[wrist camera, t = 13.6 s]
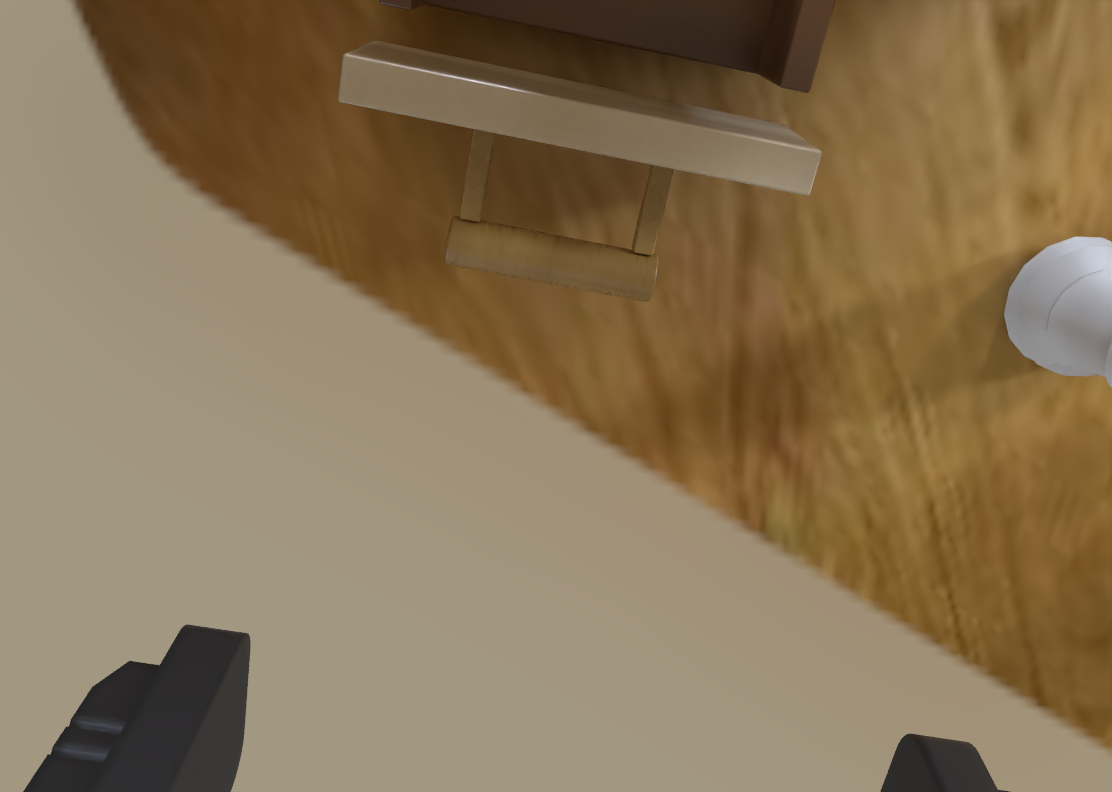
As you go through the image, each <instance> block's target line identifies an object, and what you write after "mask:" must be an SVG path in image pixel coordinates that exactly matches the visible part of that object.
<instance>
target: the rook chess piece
mask: <svg viewBox="0 0 1112 792" xmlns="http://www.w3.org/2000/svg"><path fill="white" fill-rule="evenodd" d="M1004 317H1005V321H1006V326H1007V330H1008V334H1009V338H1010V340H1011V341H1012V342H1013V343H1014V345H1015V346H1016V347H1017V348H1018V349H1019V351H1020V352H1021V353H1022V354H1023V355H1024V357H1027V358H1029V359H1031V360H1033V361H1035V362H1036V364H1038V365H1040V366H1042V367H1044V368H1046V369H1049V370H1051V371H1053V372H1055V373H1057V374H1060V375H1065V376H1093V375H1101V376H1104V377H1106V378H1107V382H1108V384H1109V386H1110V387H1111V388H1112V242H1111V241H1109V240H1107V239H1105V238H1101V237H1073V238H1071V239H1068V240H1065V241H1062V242H1059V243H1056V244H1053V245H1050V246H1048V247H1046V248H1045V249H1044V250H1043V251H1041V252H1040V253H1039V254H1038V255H1036V256H1035V257H1034V258H1033V259H1031V260H1030V261H1029V262H1027V263H1026V264H1025V265H1024V266H1023V268H1022V270H1021V271H1020V273H1019V274H1018V276H1017V277H1016V279H1015V281H1014V282H1013V284H1012V285H1011V287H1010V288H1009V292H1008V297H1007V302H1006V307H1005V312H1004Z"/></svg>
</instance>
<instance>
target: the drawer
mask: <svg viewBox="0 0 1112 792" xmlns="http://www.w3.org/2000/svg"><path fill="white" fill-rule="evenodd" d="M380 3H381V4H382V5H387V6H392V7H397V8H402V9H406V10H410V9H413V8H416V7H420V6H423V5H430V6H435V7H440V8H444V9H449V10H454V11H459V12H464V13H468V14H473V15H478V16H483V17H488V18H492V19H497V20H502V21H507V22H512V23H516V24H521V25H526V26H531V27H535V28H540V29H545V30H550V31H555V32H559V33H564V34H569V35H574V36H579V37H583V38H588V39H593V40H598V41H603V42H607V43H612V44H617V45H622V46H626V47H631V48H636V49H641V50H646V51H650V52H655V53H660V54H665V55H670V56H674V57H679V58H684V59H689V60H694V61H698V62H703V63H708V64H713V65H718V66H722V67H727V68H732V69H737V70H741V71H746V72H751V73H756V74H758V75H760V76H762V77H764V78H765V79H767V80H769V81H771V82H772V83H774V84H776V85H778V86H780V87H781V88H786V89H791V90H795V91H800V92H805V93H808V92H809V91H810V89H811V85H812V82H813V78H814V74H815V71H816V67H817V64H818V60H819V57H820V53H821V50H822V46H823V42H824V39H825V35H826V32H827V28H828V25H829V21H830V17H831V14H832V10H833V7H834V3H835V0H380ZM338 100H339V101H340V102H342V103H347V104H352V105H357V106H362V107H366V108H371V109H376V110H381V111H386V112H391V113H396V114H401V115H406V116H411V117H416V118H421V119H426V120H431V121H436V122H441V123H446V124H451V125H456V126H461V127H466V128H471V129H473V135H472V141H471V147H470V154H469V160H468V166H467V172H466V178H465V184H464V190H463V196H462V202H461V209H460V215H459V216H453V218H452V220H451V224H450V229H449V234H448V239H447V245H446V252H445V263H446V264H448V265H454V266H459V267H464V268H469V269H475V270H480V271H485V272H490V273H496V274H501V275H506V276H511V277H517V278H522V279H527V280H532V281H538V282H543V283H548V284H553V285H558V286H564V287H569V288H574V289H579V290H585V291H590V292H595V293H600V294H606V295H611V296H616V297H621V298H627V299H632V300H637V301H642V302H649V300H650V299H651V297H652V294H653V291H654V288H655V284H656V279H657V274H658V265H659V259H658V256H657V255H656V254H654V250H655V245H656V241H657V237H658V233H659V229H660V224H661V220H662V216H663V212H664V208H665V203H666V199H667V195H668V191H669V187H670V183H671V178H672V174H673V170H674V169H675V170H680V171H685V172H690V173H695V174H700V175H705V176H710V177H715V178H720V179H725V180H730V181H735V182H740V183H745V184H750V185H755V186H760V187H765V188H770V189H775V190H780V191H785V192H790V193H795V194H800V195H805V196H808V195H809V194H810V192H811V189H812V186H813V182H814V179H815V175H816V172H817V168H818V165H819V162H820V158H821V155H822V152H821V151H820V150H819V149H817V148H816V147H814V146H813V145H812V144H810V143H809V142H807V141H806V140H805V139H803V138H802V137H801V136H799V135H798V134H796V133H795V132H794V131H792V130H791V129H790V128H788V127H787V126H785V125H784V124H780V123H775V122H770V121H765V120H760V119H756V118H751V117H746V116H741V115H736V114H731V113H726V112H721V111H717V110H712V109H707V108H702V107H697V106H692V105H687V104H683V103H678V102H673V101H668V100H663V99H658V98H653V97H648V96H644V95H639V94H634V93H629V92H624V91H619V90H614V89H610V88H605V87H600V86H595V85H590V84H585V83H580V82H575V81H571V80H566V79H561V78H556V77H551V76H546V75H541V74H537V73H532V72H527V71H522V70H517V69H512V68H507V67H503V66H498V65H493V64H488V63H483V62H478V61H473V60H468V59H464V58H459V57H454V56H449V55H444V54H439V53H434V52H430V51H425V50H420V49H415V48H410V47H405V46H400V45H395V44H391V43H386V42H381V41H373V42H371V43H369V44H366V45H364V46H362V47H359V48H357V49H355V50H353V51H350V52H348V53H346V54H344V55H343V60H342V68H341V77H340V86H339V95H338ZM496 134H501V135H506V136H511V137H516V138H521V139H526V140H531V141H536V142H541V143H546V144H551V145H556V146H561V147H566V148H571V149H576V150H581V151H586V152H591V153H596V154H601V155H606V156H611V157H616V158H621V159H626V160H631V161H636V162H641V163H645V164H650V169H649V174H648V178H647V182H646V187H645V191H644V195H643V200H642V204H641V208H640V213H639V217H638V221H637V226H636V230H635V234H634V239H633V243H632V249H633V250H630V249H625V248H620V247H615V246H610V245H604V244H599V243H594V242H589V241H584V240H579V239H574V238H568V237H563V236H558V235H553V234H548V233H543V232H538V231H532V230H527V229H522V228H517V227H512V226H507V225H502V224H496V223H491V222H486V221H481V216H482V210H483V204H484V199H485V193H486V187H487V181H488V175H489V169H490V164H491V158H492V152H493V146H494V140H495V135H496Z"/></svg>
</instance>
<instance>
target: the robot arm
mask: <svg viewBox="0 0 1112 792" xmlns="http://www.w3.org/2000/svg"><path fill="white" fill-rule="evenodd" d="M249 660H250V637H249V634H247V633H241V632H234V631H228V630H221V629H214V628H208V627H200V626H194V625H185V626H184V627H183V628H182V629H181V630H180V632H179V633H178V635H177V637H176V638H175V640H174V642H173V644H172V645H171V647H170V649H169V650H168V652H167V654H166V656H165V657H164V659H163V661H162V663H161V664H160V665H154V664H147V663H140V662H133V661H129V662H127V663H126V664H124V665H123V666H122V667H120V668H119V669H117V670H116V671H115V672H113V673H112V674H110V675H109V676H107V677H106V678H105V679H103V680H102V681H100V682H99V683H98V684H96V685H95V686H93V687H92V689H91V690H90V691H89V693H88V694H87V696H86V698H85V699H84V701H83V702H82V704H81V705H80V707H79V708H78V710H77V711H76V713H75V714H74V716H73V717H72V719H71V722H70V725H69V727H66V728H65V729H64V731H63V732H62V734H61V735H60V737H59V738H58V740H57V741H56V743H55V744H54V746H53V749H52V752H51V755H47V757H46V758H45V760H44V761H43V763H42V764H41V766H40V767H39V769H38V770H37V772H36V773H35V775H34V776H33V778H32V779H31V781H30V782H29V784H28V785H27V787H26V788H25V790H24V791H23V792H230V791H231V789H232V786H233V783H234V780H235V777H236V773H237V770H238V766H239V761H240V757H241V752H242V746H243V739H244V728H245V714H246V701H247V687H248V673H249ZM881 792H1008V791H1001V790H998V789H997V788H996V786H995V784H994V782H993V780H992V778H991V776H990V774H989V772H988V770H987V768H986V766H985V764H984V762H983V761H982V759H981V757H980V755H979V753H978V751H977V750H976V748H975V747H974V746H973V745H972V744H970V743H968V742H963V741H956V740H949V739H942V738H936V737H929V736H922V735H916V734H907V735H905V736H904V737H903V738H902V739H901V741H900V742H899V744H898V746H897V749H896V751H895V754H894V757H893V759H892V762H891V765H890V768H889V770H888V774H887V776H886V778H885V781H884V784H883V786H882V789H881Z"/></svg>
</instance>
